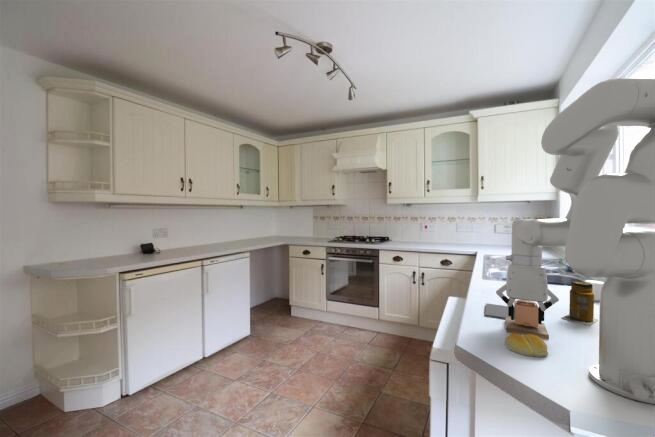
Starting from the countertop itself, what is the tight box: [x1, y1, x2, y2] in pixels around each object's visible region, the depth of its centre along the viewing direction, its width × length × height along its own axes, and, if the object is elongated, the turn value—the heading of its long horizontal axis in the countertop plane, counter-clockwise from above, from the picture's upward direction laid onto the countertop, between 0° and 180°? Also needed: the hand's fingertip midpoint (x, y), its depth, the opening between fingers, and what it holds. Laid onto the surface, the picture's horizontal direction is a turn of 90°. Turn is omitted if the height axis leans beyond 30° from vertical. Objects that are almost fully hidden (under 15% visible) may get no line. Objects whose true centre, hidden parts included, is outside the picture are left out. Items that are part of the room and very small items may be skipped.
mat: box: [484, 303, 511, 320], centre depth 102 cm, size 14×14×1 cm
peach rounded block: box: [513, 299, 539, 327], centre depth 88 cm, size 7×6×6 cm
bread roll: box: [504, 333, 549, 358], centre depth 75 cm, size 8×9×4 cm
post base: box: [505, 318, 550, 340], centre depth 88 cm, size 10×10×1 cm
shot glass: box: [584, 279, 605, 302], centre depth 120 cm, size 7×7×7 cm
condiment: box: [561, 280, 599, 326], centre depth 97 cm, size 7×8×12 cm
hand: (525, 320), depth 88 cm, fingers open, 6 cm apart
